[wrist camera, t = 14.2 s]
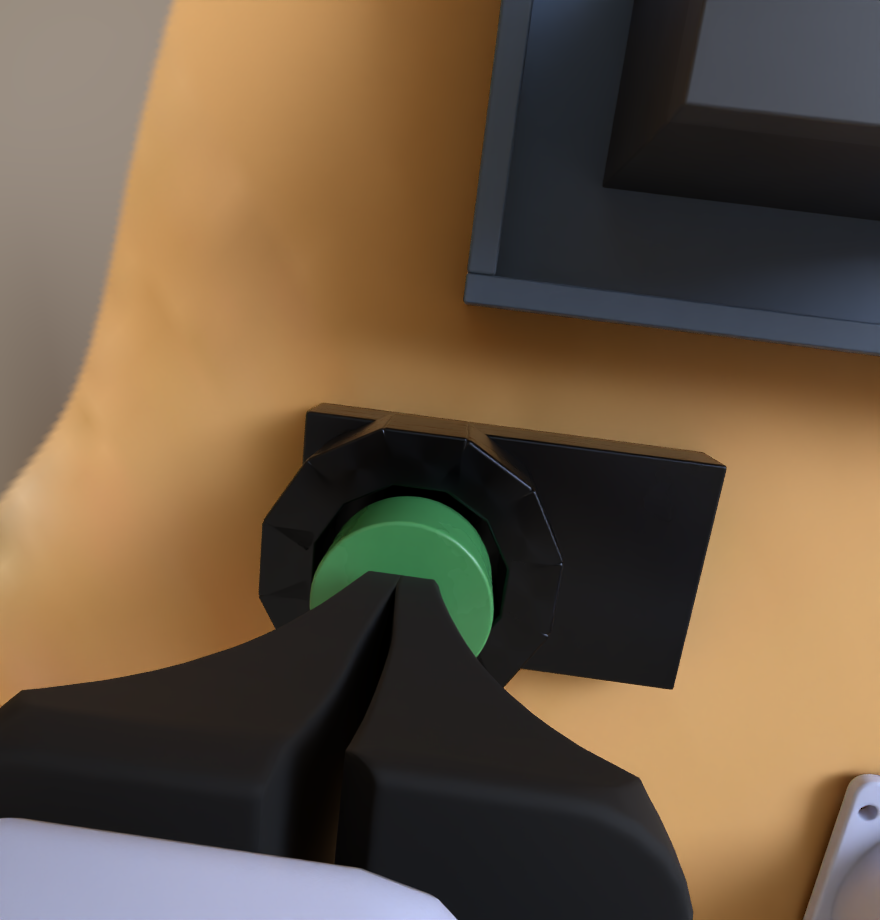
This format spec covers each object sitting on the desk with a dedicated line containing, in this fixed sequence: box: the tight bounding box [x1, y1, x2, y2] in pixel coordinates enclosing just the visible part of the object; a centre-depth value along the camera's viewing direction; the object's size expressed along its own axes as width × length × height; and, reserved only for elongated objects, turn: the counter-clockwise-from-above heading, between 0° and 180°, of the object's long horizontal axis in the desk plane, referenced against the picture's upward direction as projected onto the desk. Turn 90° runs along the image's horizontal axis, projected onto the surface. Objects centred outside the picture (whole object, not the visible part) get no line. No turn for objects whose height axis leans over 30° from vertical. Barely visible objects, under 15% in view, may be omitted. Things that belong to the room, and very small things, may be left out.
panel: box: [259, 403, 726, 690], centre depth 15 cm, size 6×10×4 cm, turn 83°
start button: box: [310, 496, 494, 657], centre depth 13 cm, size 4×4×2 cm
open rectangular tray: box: [463, 0, 880, 356], centre depth 12 cm, size 10×15×2 cm
